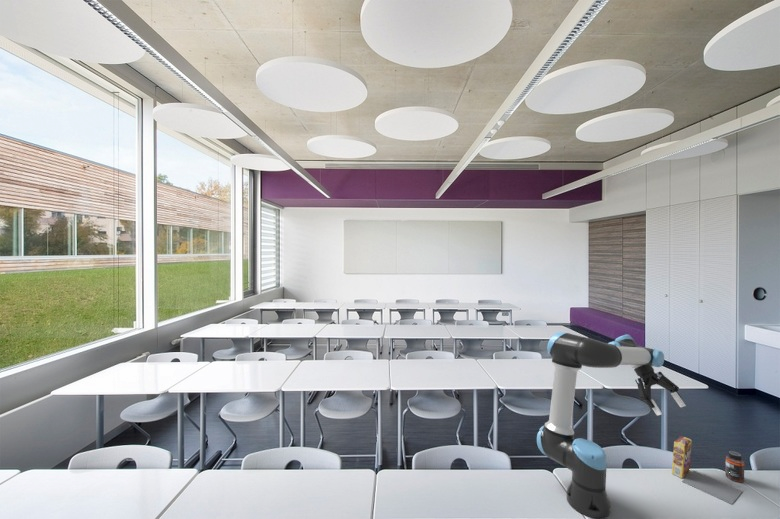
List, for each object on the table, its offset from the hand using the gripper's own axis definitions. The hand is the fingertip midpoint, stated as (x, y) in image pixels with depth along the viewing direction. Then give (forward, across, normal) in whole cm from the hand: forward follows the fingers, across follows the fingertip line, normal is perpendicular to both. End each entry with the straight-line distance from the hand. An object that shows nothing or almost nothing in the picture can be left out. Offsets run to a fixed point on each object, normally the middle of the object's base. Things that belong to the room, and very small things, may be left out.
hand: (671, 410), depth 159 cm
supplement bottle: (+32, -18, -11) cm, 38 cm away
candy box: (+24, +1, -15) cm, 29 cm away
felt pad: (+30, -2, -8) cm, 31 cm away
